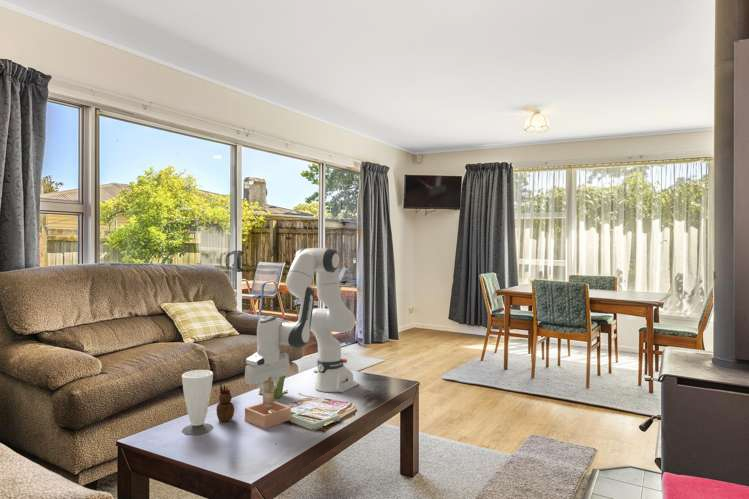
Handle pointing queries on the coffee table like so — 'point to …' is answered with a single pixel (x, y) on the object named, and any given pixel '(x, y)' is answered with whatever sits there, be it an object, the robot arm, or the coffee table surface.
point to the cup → (197, 400)
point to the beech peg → (268, 392)
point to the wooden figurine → (225, 405)
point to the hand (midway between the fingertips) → (268, 390)
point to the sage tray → (313, 425)
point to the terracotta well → (267, 415)
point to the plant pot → (279, 387)
